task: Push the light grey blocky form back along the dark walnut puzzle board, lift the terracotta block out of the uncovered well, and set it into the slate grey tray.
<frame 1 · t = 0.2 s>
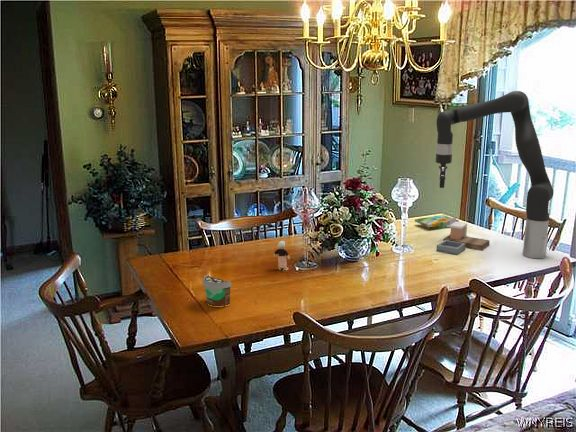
hand: (441, 186, 270), 27 cm above the table, tool pointing down, fingers open, 8 cm apart
puzzle game: (436, 227, 300), on the table
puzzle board: (466, 244, 269), on the table
block: (455, 242, 272), resting in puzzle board
grandmother figurine: (282, 269, 239), on the table
tray: (450, 250, 260), on the table
light grey blocky form: (456, 228, 270), point 7 cm above the table, slide at 0.0 cm
food container: (214, 305, 203), on the table
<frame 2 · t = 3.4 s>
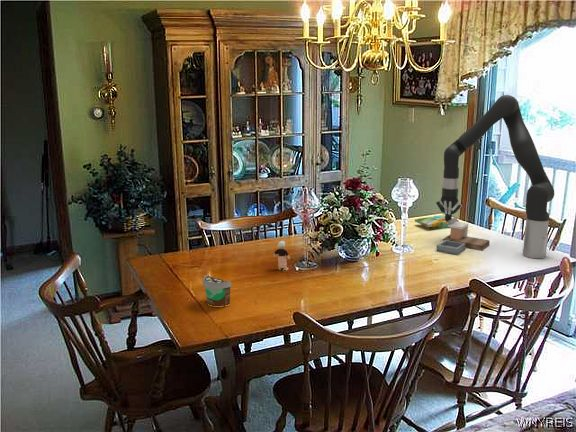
hand: (448, 221, 272), 10 cm above the table, tool pointing down, fingers closed
light grey blocky form: (457, 228, 269), point 7 cm above the table, slide at 0.5 cm, touching gripper
everything else where it was.
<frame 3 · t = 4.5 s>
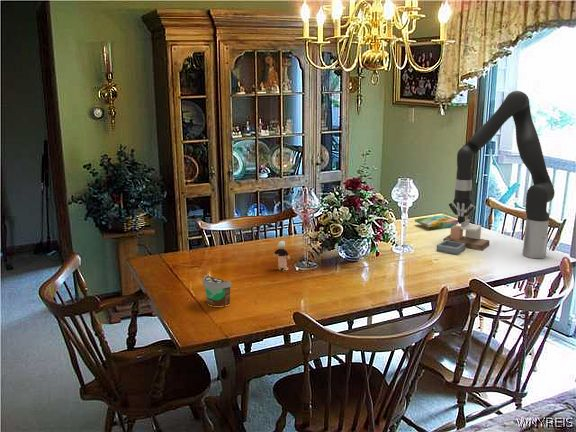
hand: (460, 223, 268), 10 cm above the table, tool pointing down, fingers closed
light grey blocky form: (470, 231, 266), point 7 cm above the table, slide at 6.9 cm, touching gripper
everything else where it was.
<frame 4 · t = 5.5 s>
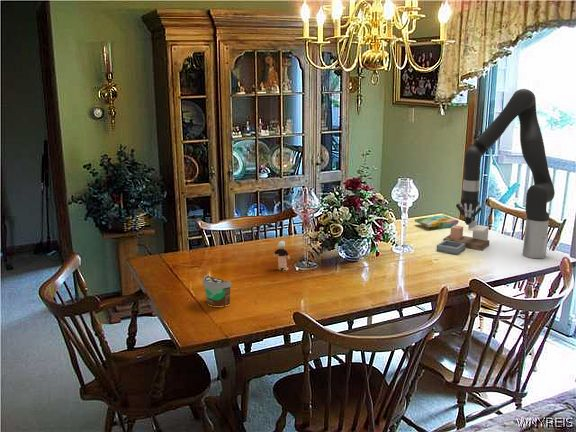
hand: (468, 224, 266), 10 cm above the table, tool pointing down, fingers closed
light grey blocky form: (478, 232, 264), point 7 cm above the table, slide at 10.4 cm, touching gripper
everything else where it was.
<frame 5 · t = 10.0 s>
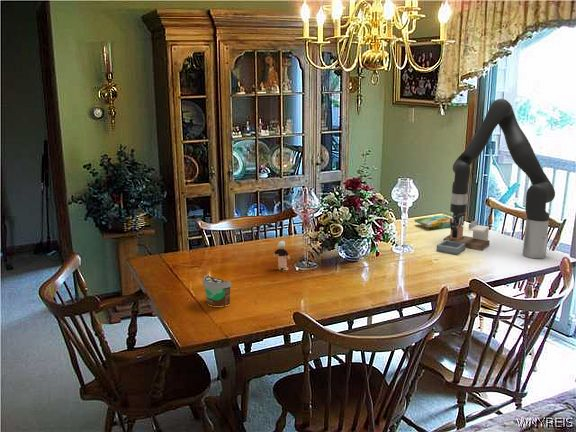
hand: (456, 236, 271), 3 cm above the table, tool pointing down, fingers closed on block, 4 cm apart
block: (456, 242, 272), resting in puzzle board, touching gripper
light grey blocky form: (478, 232, 264), point 7 cm above the table, slide at 10.5 cm
everything else where it was.
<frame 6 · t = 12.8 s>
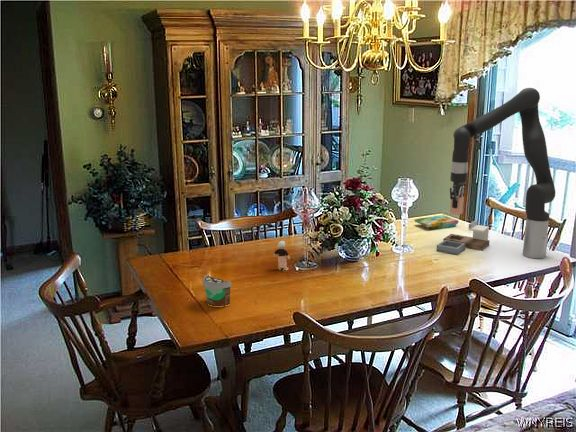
hand: (456, 206, 262), 19 cm above the table, tool pointing down, fingers closed on block, 4 cm apart
block: (456, 213, 263), point 16 cm above the table, touching gripper
everything else where it was.
when the fingers open (6 cm above the table, at t = 15.9 s): block drops 1 cm, resting on tray.
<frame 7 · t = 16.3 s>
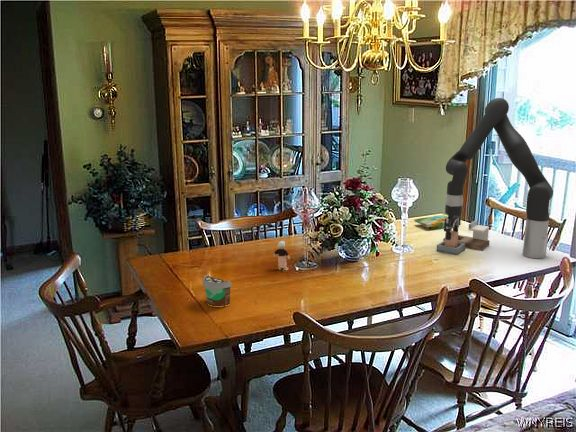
hand: (451, 237, 258), 6 cm above the table, tool pointing down, fingers open, 8 cm apart
block: (450, 248, 260), point 1 cm above the table, touching tray
everything else where it was.
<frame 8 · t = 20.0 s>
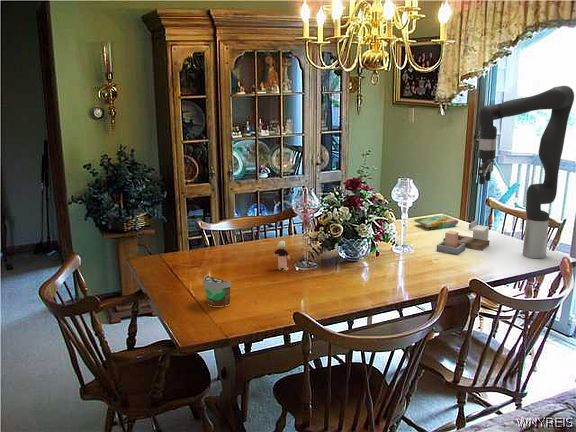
hand: (484, 182, 263), 30 cm above the table, tool pointing down, fingers open, 8 cm apart
nothing on the table moved.
at the end: light grey blocky form slide at 10.5 cm; block 0.0 cm off-centre on the tray, point 0.8 cm above the tray's base; block tilted 0° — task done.
